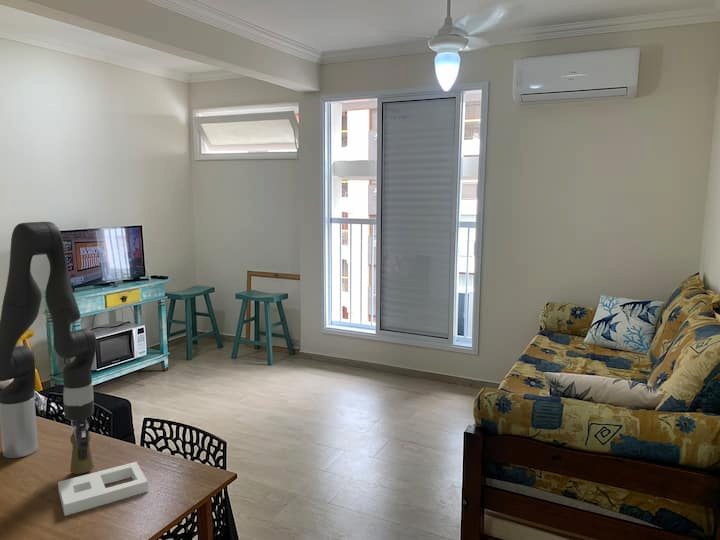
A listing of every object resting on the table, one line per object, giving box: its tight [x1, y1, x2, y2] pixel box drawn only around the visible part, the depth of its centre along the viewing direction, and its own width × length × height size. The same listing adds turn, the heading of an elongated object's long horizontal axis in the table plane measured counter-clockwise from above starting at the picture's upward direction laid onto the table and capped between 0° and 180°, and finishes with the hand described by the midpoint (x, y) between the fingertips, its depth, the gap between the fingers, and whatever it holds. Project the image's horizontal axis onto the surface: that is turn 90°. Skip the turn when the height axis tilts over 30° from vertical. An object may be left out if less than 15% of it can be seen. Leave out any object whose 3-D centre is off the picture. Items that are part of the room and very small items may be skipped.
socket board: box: [57, 461, 149, 516], centre depth 144 cm, size 13×20×3 cm, turn 125°
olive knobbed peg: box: [69, 432, 94, 475], centre depth 153 cm, size 6×6×11 cm
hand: (81, 455), depth 153 cm, fingers closed on olive knobbed peg, 4 cm apart
